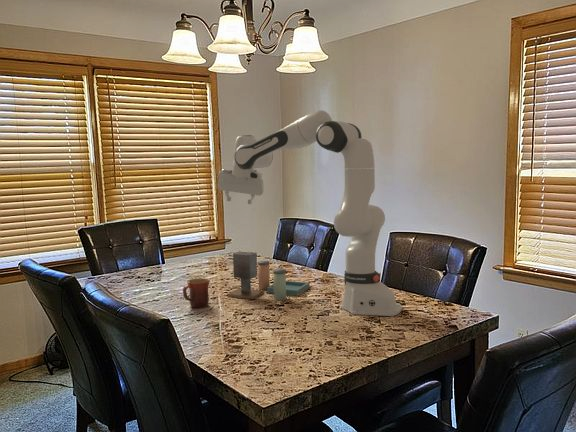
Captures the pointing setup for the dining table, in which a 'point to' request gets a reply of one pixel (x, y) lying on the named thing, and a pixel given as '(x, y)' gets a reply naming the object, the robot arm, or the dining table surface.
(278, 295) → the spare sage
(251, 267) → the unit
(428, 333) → the dining table surface
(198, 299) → the mug
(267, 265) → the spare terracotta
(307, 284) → the tray
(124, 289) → the dining table surface
